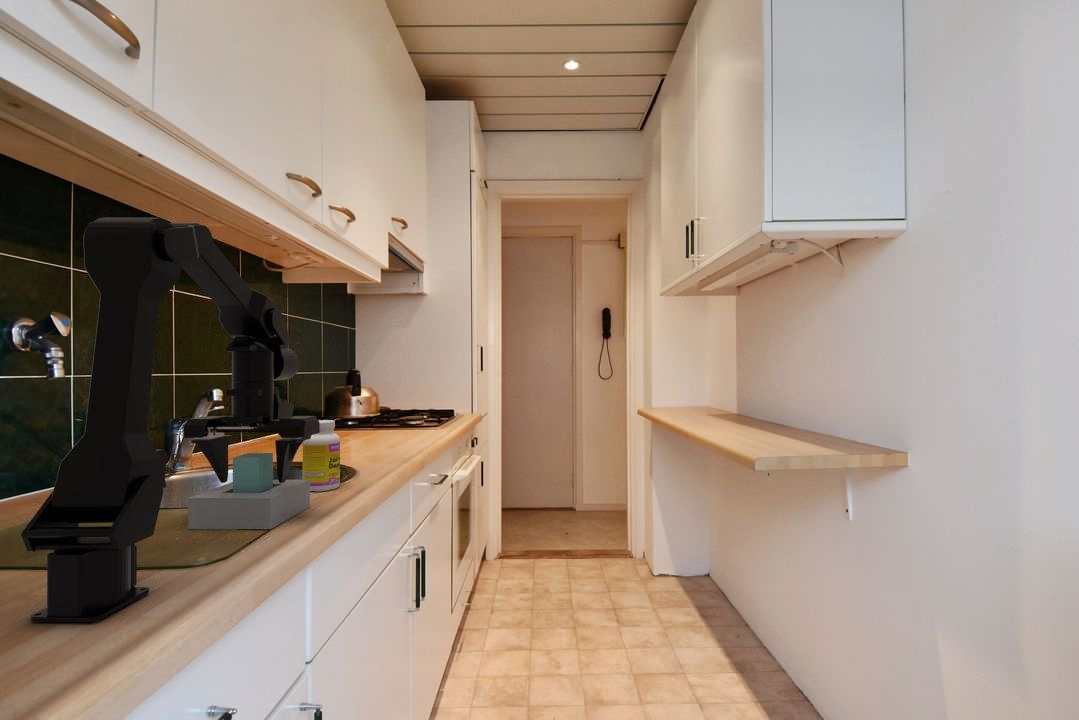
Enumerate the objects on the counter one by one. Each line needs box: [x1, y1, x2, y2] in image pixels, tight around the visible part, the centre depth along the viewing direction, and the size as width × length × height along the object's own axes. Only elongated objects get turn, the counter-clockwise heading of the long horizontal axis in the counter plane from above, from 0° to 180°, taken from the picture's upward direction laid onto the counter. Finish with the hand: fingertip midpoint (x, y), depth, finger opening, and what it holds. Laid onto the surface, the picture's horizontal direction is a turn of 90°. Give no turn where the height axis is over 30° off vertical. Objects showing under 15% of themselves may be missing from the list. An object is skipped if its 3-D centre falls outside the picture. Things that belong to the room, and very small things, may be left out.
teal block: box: [232, 452, 274, 493], centre depth 81 cm, size 4×4×9 cm
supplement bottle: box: [301, 419, 341, 493], centre depth 100 cm, size 7×7×13 cm
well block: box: [187, 479, 311, 531], centre depth 81 cm, size 12×12×4 cm
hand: (253, 482), depth 81 cm, fingers open, 9 cm apart
